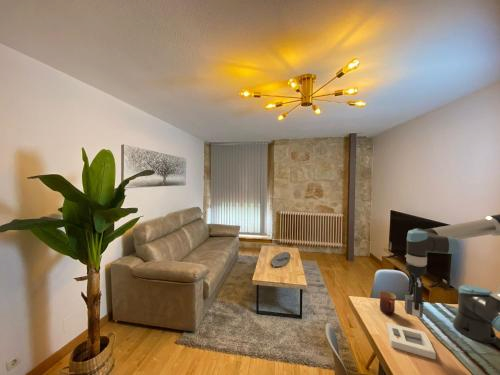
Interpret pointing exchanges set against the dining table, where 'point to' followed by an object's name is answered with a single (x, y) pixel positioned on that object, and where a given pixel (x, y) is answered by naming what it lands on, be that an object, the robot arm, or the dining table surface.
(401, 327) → the socket plate
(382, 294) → the mug
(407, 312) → the plug
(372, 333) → the dining table surface
